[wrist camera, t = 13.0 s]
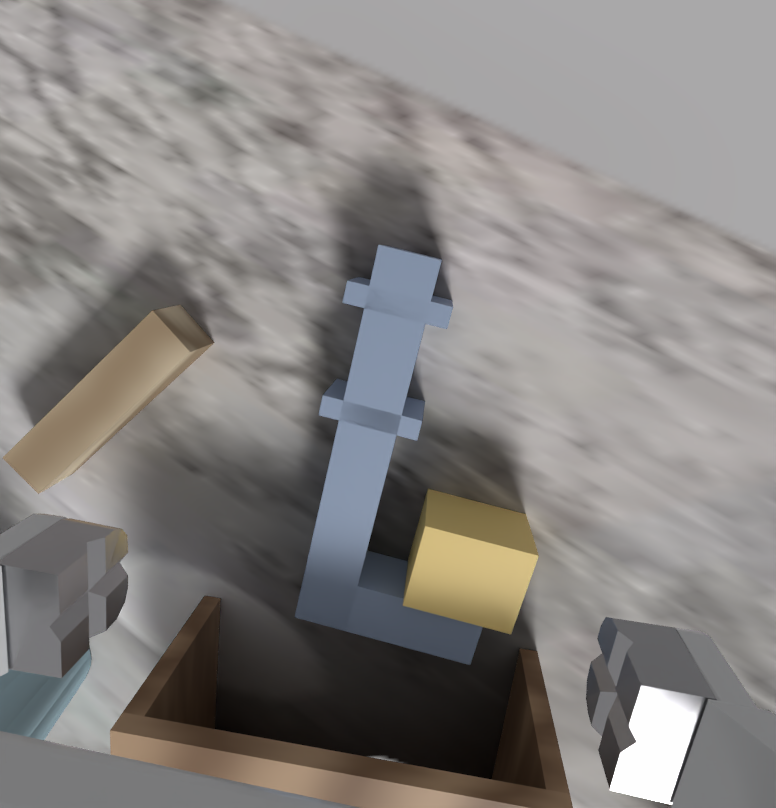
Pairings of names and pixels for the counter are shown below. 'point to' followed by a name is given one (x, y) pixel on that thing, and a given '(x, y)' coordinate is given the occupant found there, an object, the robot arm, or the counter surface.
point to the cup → (38, 699)
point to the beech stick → (109, 397)
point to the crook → (376, 465)
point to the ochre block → (470, 562)
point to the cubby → (320, 768)
